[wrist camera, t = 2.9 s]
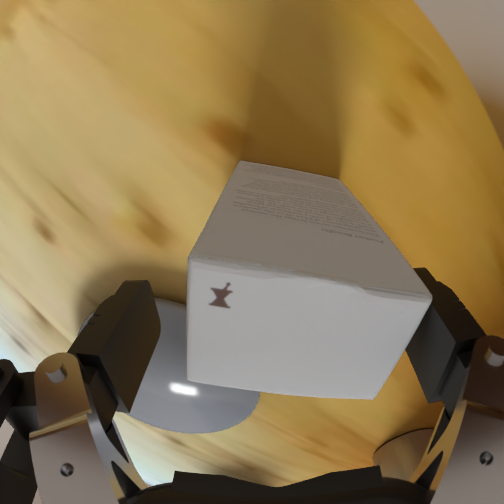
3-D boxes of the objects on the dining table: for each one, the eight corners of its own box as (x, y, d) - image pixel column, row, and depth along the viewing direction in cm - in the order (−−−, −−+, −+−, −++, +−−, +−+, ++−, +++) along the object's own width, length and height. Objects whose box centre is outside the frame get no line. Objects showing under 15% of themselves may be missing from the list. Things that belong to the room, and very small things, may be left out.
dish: (256, 291, 21) (255, 305, 19) (263, 424, 28) (263, 437, 26) (60, 288, 22) (50, 299, 21) (117, 410, 29) (112, 421, 28)
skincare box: (228, 227, 19) (177, 382, 8) (239, 158, 17) (181, 249, 6) (326, 245, 19) (376, 404, 8) (343, 178, 17) (440, 292, 7)
